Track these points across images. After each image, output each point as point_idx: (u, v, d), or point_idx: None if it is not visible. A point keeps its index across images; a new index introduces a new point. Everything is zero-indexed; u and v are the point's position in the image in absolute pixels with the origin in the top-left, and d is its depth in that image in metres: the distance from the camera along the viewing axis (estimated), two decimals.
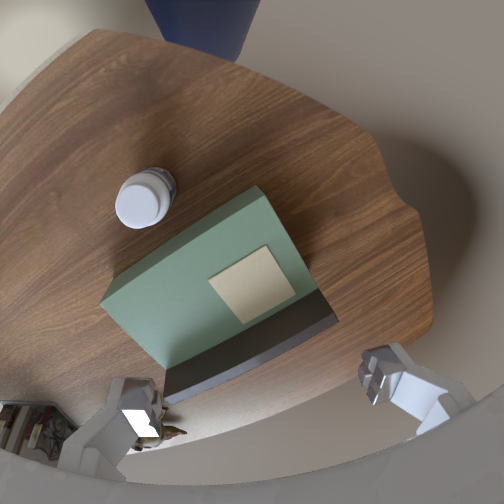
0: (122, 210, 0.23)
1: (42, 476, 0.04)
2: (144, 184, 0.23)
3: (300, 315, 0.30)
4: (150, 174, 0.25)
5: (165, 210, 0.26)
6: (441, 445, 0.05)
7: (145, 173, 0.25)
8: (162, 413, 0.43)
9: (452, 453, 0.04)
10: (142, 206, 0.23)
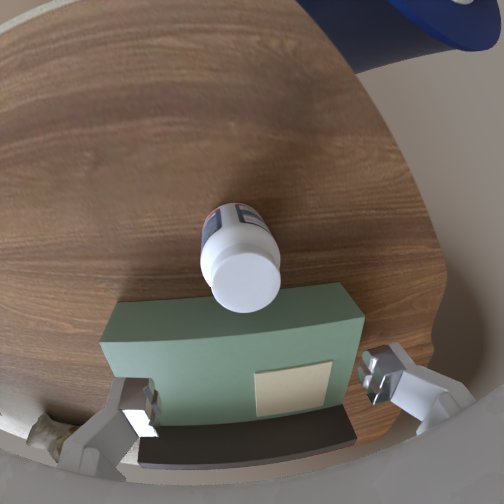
0: (223, 279, 0.16)
1: (41, 475, 0.04)
2: (273, 259, 0.16)
3: (321, 429, 0.24)
4: (271, 237, 0.18)
5: None
6: (441, 445, 0.05)
7: (265, 232, 0.18)
8: None
9: (452, 453, 0.04)
10: (255, 288, 0.16)
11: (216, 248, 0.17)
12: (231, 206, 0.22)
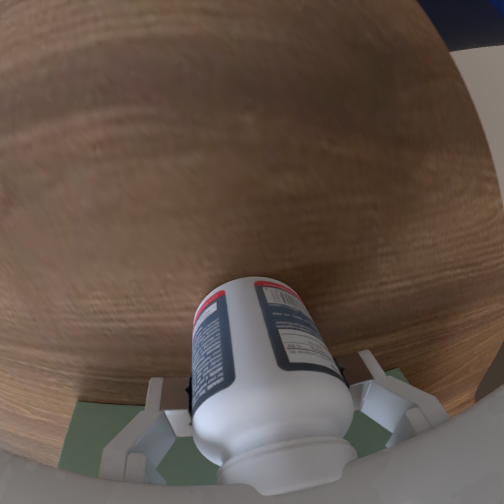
0: None
1: (42, 475, 0.04)
2: None
3: None
4: (344, 389, 0.07)
5: None
6: (441, 445, 0.05)
7: (335, 383, 0.07)
8: None
9: (452, 453, 0.04)
10: None
11: (226, 432, 0.06)
12: (248, 289, 0.11)
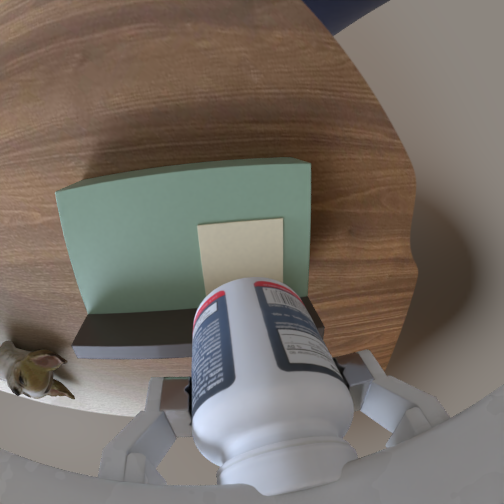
0: None
1: (42, 476, 0.04)
2: None
3: None
4: (344, 389, 0.07)
5: None
6: (441, 445, 0.05)
7: (335, 383, 0.07)
8: (57, 364, 0.31)
9: (452, 453, 0.04)
10: None
11: (226, 432, 0.06)
12: (248, 289, 0.11)
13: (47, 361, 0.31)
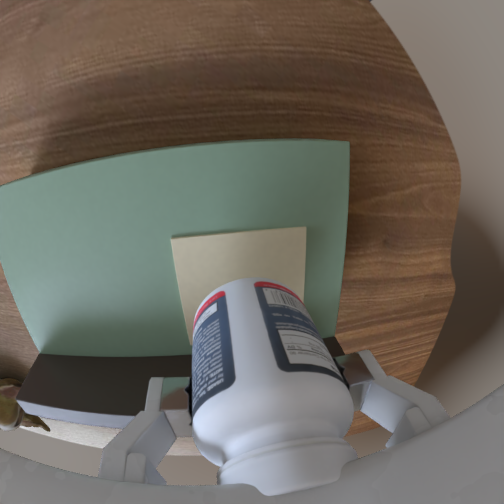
0: None
1: (41, 475, 0.04)
2: None
3: None
4: (344, 390, 0.07)
5: None
6: (441, 445, 0.05)
7: (335, 384, 0.07)
8: None
9: (452, 453, 0.04)
10: None
11: (226, 433, 0.06)
12: (248, 290, 0.11)
13: (14, 392, 0.22)
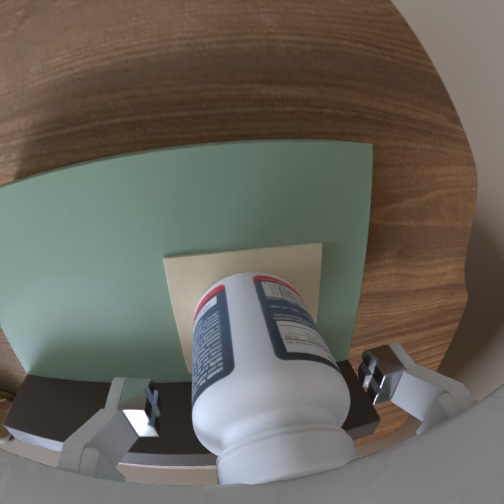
0: None
1: (41, 475, 0.04)
2: (353, 450, 0.06)
3: None
4: (340, 379, 0.08)
5: None
6: (441, 445, 0.05)
7: (331, 373, 0.07)
8: None
9: (452, 453, 0.04)
10: None
11: (225, 420, 0.07)
12: (247, 283, 0.11)
13: (8, 405, 0.20)
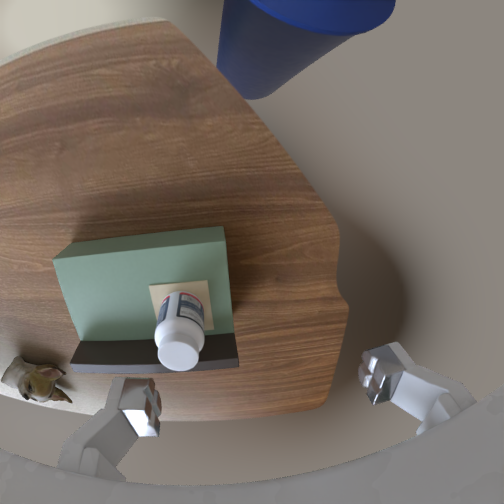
0: (164, 354, 0.25)
1: (41, 475, 0.04)
2: (192, 343, 0.25)
3: (209, 347, 0.33)
4: (196, 325, 0.28)
5: None
6: (441, 445, 0.05)
7: (192, 322, 0.27)
8: (58, 375, 0.40)
9: (452, 453, 0.04)
10: (183, 359, 0.25)
11: (161, 333, 0.27)
12: (177, 295, 0.31)
13: (50, 373, 0.39)
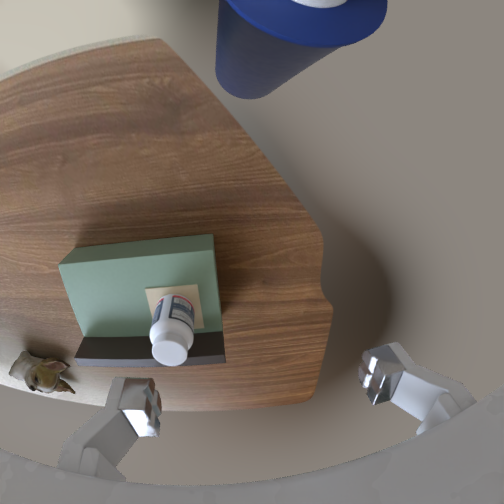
0: (157, 351, 0.28)
1: (42, 475, 0.04)
2: (182, 342, 0.29)
3: (199, 344, 0.37)
4: (185, 325, 0.31)
5: None
6: (441, 445, 0.05)
7: (182, 323, 0.31)
8: (63, 368, 0.44)
9: (452, 453, 0.04)
10: (174, 355, 0.29)
11: (155, 332, 0.30)
12: (170, 298, 0.35)
13: (55, 366, 0.43)
